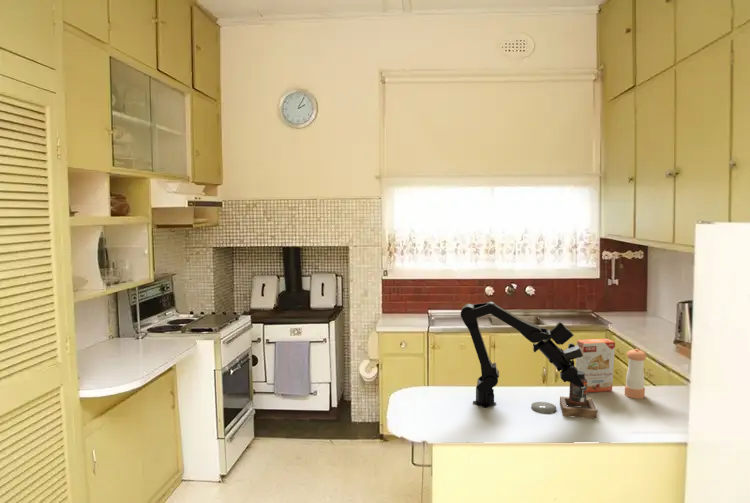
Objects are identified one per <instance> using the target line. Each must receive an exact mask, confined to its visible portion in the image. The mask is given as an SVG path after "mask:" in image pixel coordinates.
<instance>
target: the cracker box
mask: <svg viewBox="0 0 750 503" xmlns="http://www.w3.org/2000/svg"><path fill="white" fill-rule="evenodd" d="M576 345H577V346H579V348H580V350H581V352H582V355H583V356H582V357H580V358H579V357H578V358H576V359H575V367H576V368H577V370H578V371H581V372H584V373H585V378H586V380H587V393H599V392H600V393H601V392H602V393H603V392H612V391H613V381H614V380H613V379H614V366H615V365H614V364H615V354H616V353H615V351H616V350H615V349H616V342H615V341H614V340H611V339H608V338H592V339H591V338H590V339H577V340H576Z"/></svg>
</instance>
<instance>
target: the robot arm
mask: <svg viewBox="0 0 750 503" xmlns="http://www.w3.org/2000/svg"><path fill="white" fill-rule="evenodd" d="M487 315H492V316H493V317H495V318H497V319H499V320H500V321H501V322H503V323H505V324H507V325H508V326H510V327H512V328H513V329H516V331H517V332H519V333H520V334H521V335H522V336H523V337H524V338H525V339H526V340H527V341H529V342H530V343H532V345H533V346H532V347H533V348H532V349H533V350H532V351H533V353H537V351H538V350H539V351H540V352H541V353H542V354H543V355H544V356H545V358H547V360H548V362H549V363H550V364H552V365H553V366H554V367H555V369H556V370H557V372H559V376H560V379H561V381H563V382H564V383H566V382H568V383H569V384H570V383H573V384H575V385H577V386H580V387H582V388H583V387H584V386H585V385H584V384H583V382H582V381H581V379H580V378H579V376H578V375H577V373H578V370H577V368H576V365H575V360H576V358H578V357H579V358H580V357H582V356H583V355H582V352H581V350H580V348H579V346H577V344H574V343H572V342H571V343H569V344H568V345H567V348H566V349H562V348H560V347H558V346H557V345H559V346H560V345H561V346H562V345H564V344H565V343H567V342H568V341H569V340H570V339H572V337H574V336H575V334H574V333H573V332H572V331H571V329H570V328H568V326H567V325H565V324H564V323H563V322H561V321H559V322H558V323H557V324H555V326H554V327H553V328H551V329H549V328H544V327H540V325H538V324H536V323H533V322H531V321H527V320H524V319H521V318H520V317H518V316H517V315H515V314H513V313H511V312H510V311H508V310H506V309H504V308H502V307H501V306H500V305H498V304H496V303H495V302H494V301H487V302H481V303H476V304H475V303H474V304H472V303H465V304H464V305H462V308H461V310H460V317H461V319H462V322H463V323H464V325H465V327H466V328H467V329H468V331H469V333H470V334H469V335H470V338H471V340H472V344H473V346H474V349H475V352H476V355H477V358H478V360H479V365H480V371H481V372H480V373H481V376H479V377H478V378H477V382H476V385H475V386H476V387H475V400H473V401H472V403H473V404H475V405H477V406H480V407H482V408H484V409H485V408H488V407H491V406H494V405H497V402H496V401H495V393H494V389H493V388H494V387H496V386H497V384H498V383H499V378H500V371H499V370H498V367H497V362H494V363H492V361H491V359H490V356H489V353H488V350H487V347H486V344H485V341H484V338H483V336H482V332H481V330H480V326H479V318H482V317H483V316H485V317H486V316H487ZM555 343H556V344H555Z"/></svg>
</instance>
